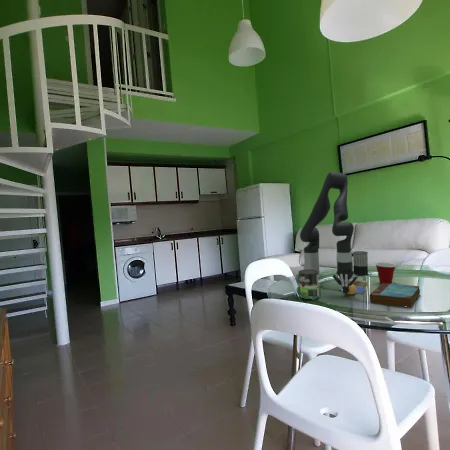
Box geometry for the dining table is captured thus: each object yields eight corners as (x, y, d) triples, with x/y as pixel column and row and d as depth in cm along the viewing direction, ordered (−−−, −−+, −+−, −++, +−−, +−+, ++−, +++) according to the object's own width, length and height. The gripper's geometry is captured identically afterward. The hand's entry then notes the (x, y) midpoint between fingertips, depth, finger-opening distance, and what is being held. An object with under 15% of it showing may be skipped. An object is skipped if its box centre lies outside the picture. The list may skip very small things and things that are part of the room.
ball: (343, 282, 172) (347, 280, 177) (341, 293, 173) (345, 291, 178) (354, 286, 168) (358, 284, 173) (352, 297, 169) (356, 295, 174)
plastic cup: (399, 286, 180) (398, 265, 180) (378, 287, 183) (377, 266, 182) (393, 281, 191) (392, 261, 190) (373, 282, 193) (373, 262, 192)
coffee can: (311, 301, 166) (310, 274, 165) (295, 297, 174) (294, 271, 173) (323, 296, 172) (322, 270, 171) (308, 293, 181) (306, 268, 180)
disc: (335, 292, 179) (335, 291, 179) (343, 285, 190) (343, 285, 190) (362, 294, 171) (362, 294, 171) (368, 288, 182) (368, 287, 182)
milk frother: (370, 273, 214) (369, 251, 213) (362, 279, 202) (361, 255, 201) (349, 271, 223) (348, 250, 222) (340, 276, 211) (339, 254, 210)
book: (383, 291, 176) (382, 282, 175) (420, 296, 164) (420, 286, 164) (370, 303, 159) (369, 293, 158) (410, 309, 147) (410, 298, 147)
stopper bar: (348, 284, 192) (348, 280, 191) (349, 283, 193) (349, 279, 193) (366, 286, 186) (366, 282, 186) (367, 285, 187) (366, 281, 187)
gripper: (359, 259, 168) (361, 292, 169) (333, 258, 176) (335, 290, 177) (355, 262, 162) (357, 296, 163) (329, 261, 170) (330, 293, 171)
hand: (345, 293), depth 170 cm, fingers closed
